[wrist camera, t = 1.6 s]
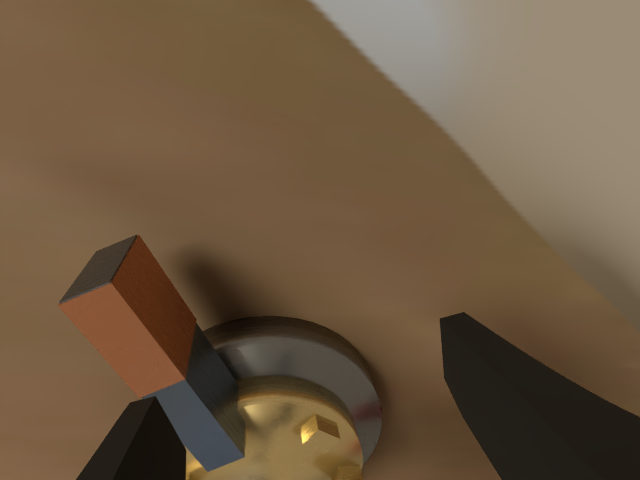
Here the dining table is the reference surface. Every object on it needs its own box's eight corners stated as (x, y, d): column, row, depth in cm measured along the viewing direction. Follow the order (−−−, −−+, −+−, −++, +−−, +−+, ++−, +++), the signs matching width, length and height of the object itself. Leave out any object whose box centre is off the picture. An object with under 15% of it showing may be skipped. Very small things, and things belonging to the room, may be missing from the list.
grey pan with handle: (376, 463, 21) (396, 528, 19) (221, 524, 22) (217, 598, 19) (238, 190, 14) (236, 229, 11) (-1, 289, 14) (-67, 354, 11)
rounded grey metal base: (382, 448, 25) (393, 480, 23) (189, 501, 24) (184, 538, 22) (355, 290, 19) (366, 315, 17) (102, 353, 18) (87, 386, 17)
